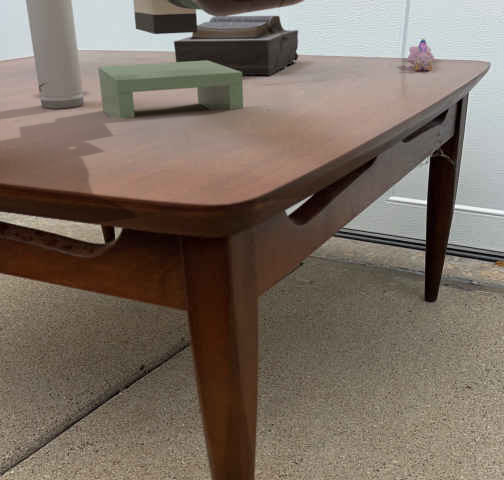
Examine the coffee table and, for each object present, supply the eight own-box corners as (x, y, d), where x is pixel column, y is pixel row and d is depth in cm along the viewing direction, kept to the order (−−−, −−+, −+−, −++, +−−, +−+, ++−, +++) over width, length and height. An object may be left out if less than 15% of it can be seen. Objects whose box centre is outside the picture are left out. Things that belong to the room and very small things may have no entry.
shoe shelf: (121, 130, 85) (116, 80, 83) (102, 110, 99) (98, 66, 97) (243, 120, 90) (242, 72, 88) (209, 102, 104) (207, 60, 101)
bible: (318, 62, 148) (319, 13, 144) (261, 78, 127) (260, 21, 123) (224, 59, 158) (222, 13, 154) (156, 73, 137) (152, 20, 133)
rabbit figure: (439, 79, 130) (433, 57, 142) (443, 47, 127) (436, 27, 139) (405, 79, 131) (402, 57, 143) (408, 47, 128) (404, 27, 140)
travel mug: (35, 109, 101) (11, -43, 92) (48, 102, 107) (28, -42, 98) (77, 109, 101) (57, -44, 92) (88, 101, 107) (71, -43, 98)
